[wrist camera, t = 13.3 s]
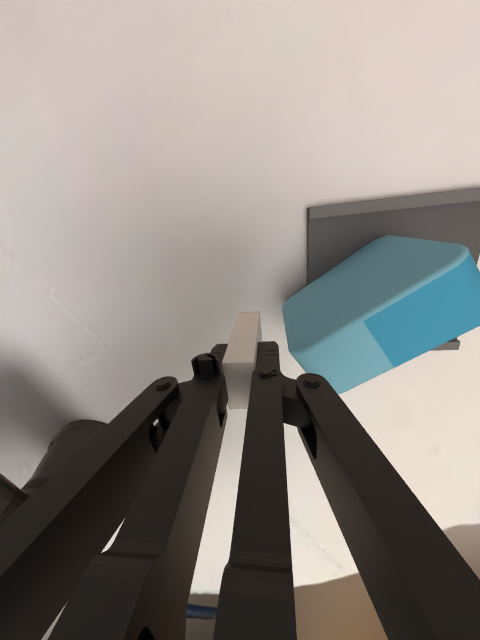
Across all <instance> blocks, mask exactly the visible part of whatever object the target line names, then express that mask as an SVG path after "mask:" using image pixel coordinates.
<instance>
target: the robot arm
mask: <svg viewBox="0 0 480 640" xmlns="http://www.w3.org/2000/svg"><path fill="white" fill-rule="evenodd" d="M191 362H192V367H193V371H194V377H193V379H192V380H190V381H187V382H182V383H178V381H177V379H176V378H174V377H162V378H160V379H157V380H156V381H154V382H153V383H152V384H150V385H149V386H148V387H147V388H146V389H145V390H144V391H143V392H142V393H141V394H140V395H139V396H138V397H137V398H135V399H134V400H133V401H132V402H131V403H130V404H129V405H128V406H127V407H126V408H125V409H124V410H123V411H122V412H120V413H119V414H118V415H117V416H116V417H115V418H114V419H113V420H112V421H111V422H110V423H109V424H108V425H105V424H103V423H99V422H95V421H87V420H82V421H75V422H72V423H69V424H68V425H66V426H65V427H64V428H63V429H62V430H61V431H60V432H59V433H58V434H57V435H56V436H55V437H54V438H53V439H52V441H51V443H50V445H49V447H48V451H47V453H46V454H45V456H44V457H43V459H42V460H41V462H40V463H39V465H38V467H37V469H36V471H35V472H34V474H33V476H32V477H31V479H30V480H29V481H28V482H27V483H26V484H25V485H24V487H23V488H22V489H21V490H20V489H19V488H18V487H17V486H16V485H15V484H13V483H12V482H11V481H10V480H8V479H7V478H6V477H4V476H3V475H2V474H1V473H0V640H41V639H42V637H43V636H44V635H45V633H46V632H47V630H48V629H49V627H50V626H51V624H52V623H53V622H54V620H55V619H56V617H57V616H58V614H59V613H60V611H61V610H62V608H63V607H64V606H65V604H66V603H67V604H66V606H65V608H64V609H63V611H62V613H61V615H60V617H59V619H58V621H57V623H56V625H55V627H54V628H53V630H52V632H51V634H50V636H49V638H48V640H185V634H186V611H187V604H188V598H189V593H190V589H191V584H192V579H193V575H194V570H195V565H196V561H197V556H198V551H199V547H200V542H201V537H202V533H203V528H204V523H205V519H206V514H207V509H208V505H209V500H210V495H211V490H212V486H213V481H214V476H215V472H216V467H217V462H218V458H219V453H220V448H221V444H222V439H223V434H224V430H225V425H226V420H227V409H226V406H227V402H228V405H229V409H248V411H247V419H246V428H245V436H244V444H243V452H242V460H241V469H240V477H239V485H238V493H237V501H236V510H235V518H234V526H233V534H232V542H231V550H230V557H229V561H228V563H227V565H226V566H225V568H224V572H223V576H222V581H221V587H220V594H219V601H218V608H217V615H216V623H215V630H214V637H213V640H297V637H296V618H295V602H294V586H293V572H292V557H291V541H290V525H289V508H288V492H287V475H286V459H285V442H284V426H283V423H286V424H289V425H293V426H296V427H297V429H298V432H299V435H300V437H301V439H302V442H303V444H304V446H305V448H306V451H307V453H308V455H309V458H310V460H311V462H312V465H313V467H314V469H315V472H316V474H317V476H318V478H319V481H320V483H321V485H322V488H323V490H324V492H325V495H326V497H327V499H328V502H329V504H330V506H331V508H332V511H333V513H334V515H335V518H336V520H337V522H338V525H339V527H340V529H341V532H342V534H343V536H344V539H345V541H346V543H347V545H348V548H349V550H350V552H351V555H352V557H353V559H354V562H355V564H356V566H357V569H358V571H359V573H360V575H361V578H362V580H363V582H364V585H365V587H366V589H367V592H368V594H369V596H370V599H371V601H372V603H373V605H374V608H375V610H376V612H377V615H378V617H379V619H380V622H381V624H382V626H383V628H384V631H385V633H386V635H387V638H388V640H480V580H479V578H478V577H477V576H476V574H475V573H474V572H473V571H472V569H471V568H470V567H469V565H468V564H467V563H466V561H465V560H464V559H463V557H462V556H461V555H460V554H459V552H458V551H457V550H456V548H455V547H454V546H453V544H452V543H451V542H450V540H449V539H448V538H447V536H446V535H445V534H444V533H443V531H442V530H441V529H440V527H439V526H438V525H437V523H436V522H435V521H434V519H433V518H432V517H431V516H430V514H429V513H428V512H427V510H426V509H425V508H424V506H423V505H422V504H421V502H420V501H419V500H418V499H417V497H416V496H415V495H414V493H413V492H412V491H411V489H410V488H409V487H408V485H407V484H406V483H405V482H404V480H403V479H402V478H401V476H400V475H399V474H398V472H397V471H396V470H395V468H394V467H393V466H392V465H391V463H390V462H389V461H388V459H387V458H386V457H385V455H384V454H383V453H382V451H381V450H380V449H379V448H378V446H377V445H376V444H375V442H374V441H373V440H372V438H371V437H370V436H369V434H368V433H367V432H366V431H365V429H364V428H363V427H362V425H361V424H360V423H359V421H358V420H357V419H356V417H355V416H354V415H353V413H352V412H351V411H350V410H349V408H348V407H347V406H346V404H345V403H344V402H343V400H342V399H341V398H340V396H339V395H338V394H337V393H336V391H335V390H334V389H333V387H332V386H331V385H330V383H329V382H328V381H327V380H326V379H325V378H324V377H323V376H321V375H319V374H314V373H305V374H302V375H300V376H299V377H297V380H295V379H291V378H288V377H286V376H284V375H283V374H282V373H281V371H280V363H279V347H278V344H277V343H276V342H275V341H270V342H262V335H261V323H260V311H258V312H240V313H239V314H238V316H237V319H236V322H235V325H234V328H233V331H232V334H231V337H230V340H229V343H228V344H217V345H216V346H215V347H213V348H212V350H211V353H205V354H200V355H198V356H196V357H194V358H193V359H192V360H191ZM157 418H158V421H159V422H158V423H157V424H156V425H155V426H154V425H153V423H154V422H155V420H156V419H157ZM124 519H125V520H124ZM123 520H124V522H123V524H122V526H121V528H120V530H119V532H118V534H117V536H116V538H115V540H114V542H113V544H112V545H111V547H110V548H109V549H108V550H107V551H105V552H102V550H103V549H104V548H105V546H106V545H107V543H108V542H109V540H110V539H111V537H112V536H113V534H114V533H115V532H116V530H117V529H118V527H119V526H120V524H121V523H122V521H123ZM101 552H102V553H101ZM67 601H68V602H67Z"/></svg>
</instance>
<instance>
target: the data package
mask: <svg viewBox="0 0 480 640" xmlns="http://www.w3.org/2000/svg"><path fill="white" fill-rule="evenodd" d="M282 309H283V316H284V322H285V329H286V336H287V342H288V349H289V352H290V353H291V354H292V356H293V357H294V358H295V359H296V361H297V362H298V363H299V364H300V366H301V367H302V368H303V369H304V371H305V372H306V373H314V374H319V375H321V376H323V377H324V378H325V379H326V380H327V381H328V382H329V383H330V385H331V386H332V387H333V389H334V390H335V391H336V393H337V394H341V393H344V392H346V391H348V390H350V389H352V388H354V387H356V386H358V385H360V384H362V383H364V382H366V381H368V380H370V379H372V378H374V377H376V376H378V375H380V374H382V373H385V372H387V371H389V370H391V369H393V368H395V367H397V366H399V365H401V364H403V363H405V362H407V361H409V360H411V359H413V358H415V357H417V356H419V355H421V354H423V353H425V352H427V351H429V350H431V349H433V348H435V347H438V346H440V345H442V344H444V343H446V342H448V341H450V340H452V339H454V338H456V337H458V336H460V335H462V334H464V333H466V332H468V331H470V330H472V329H474V328H476V327H478V326H480V272H479V270H478V268H477V266H476V264H475V262H474V260H473V257H472V255H471V253H470V251H469V249H468V248H467V247H466V246H464V245H460V244H454V243H446V242H438V241H430V240H423V239H415V238H407V237H399V236H392V235H387V236H383V237H380V238H378V239H376V240H374V241H372V242H370V243H369V244H367V245H366V246H364V247H363V248H361V249H360V250H358V251H357V252H355V253H354V254H352V255H351V256H350V257H348V258H347V259H345V260H344V261H342V262H341V263H339V264H338V265H336V266H335V267H334V268H332V269H331V270H329V271H328V272H326V273H325V274H323V275H322V276H320V277H319V278H318V279H316V280H315V281H313V282H312V283H310V284H309V285H307V286H306V287H304V288H303V289H302V290H300V291H299V292H297V293H296V294H294V295H293V296H291V297H290V298H289V299H288V300H287V301H286V302H285V303H284V305H283V308H282Z"/></svg>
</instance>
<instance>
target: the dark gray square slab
mask: <svg viewBox="0 0 480 640" xmlns="http://www.w3.org/2000/svg"><path fill="white" fill-rule="evenodd" d="M387 235H392V236H399V237H407V238H415V239H423V240H430V241H438V242H446V243H454V244H460V245H464V246H466V247H467V248H468V249H469V251H470V253H471V255H472V257H473V260H474V262H475V264H476V265H477V261H478V258H479V254H480V188H476V189H467V190H458V191H449V192H440V193H432V194H423V195H414V196H405V197H397V198H388V199H379V200H370V201H362V202H353V203H344V204H335V205H327V206H318V207H310V208H307V285H309V284H310V283H312V282H313V281H315V280H316V279H318V278H319V277H320V276H322V275H323V274H325V273H326V272H328V271H329V270H331V269H332V268H334V267H335V266H336V265H338V264H339V263H341V262H342V261H344V260H345V259H347V258H348V257H350V256H351V255H352V254H354V253H355V252H357V251H358V250H360V249H361V248H363V247H364V246H366V245H367V244H369V243H370V242H372V241H374V240H376V239H378V238H380V237H383V236H387ZM459 345H460V341H459V340H457V337H456V338H454V339H452V340H450V341H448V342H446V343H444V344H442V345H440V346H438V347H435V348H433V349H431V350H458V349H459ZM431 350H429V351H431Z"/></svg>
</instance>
